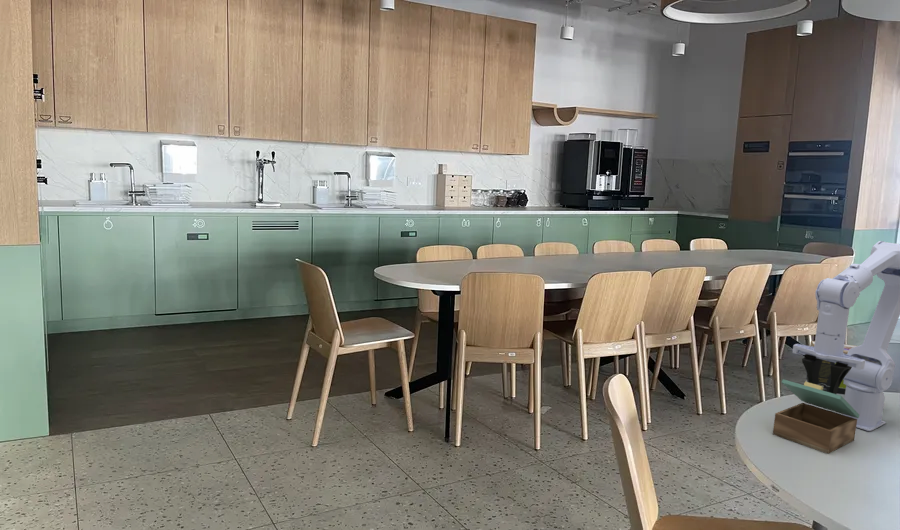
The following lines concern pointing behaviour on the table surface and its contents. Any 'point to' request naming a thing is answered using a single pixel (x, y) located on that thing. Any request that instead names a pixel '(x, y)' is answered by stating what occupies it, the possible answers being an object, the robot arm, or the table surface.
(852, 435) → the walnut box
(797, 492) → the table surface
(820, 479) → the table surface
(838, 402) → the lid
